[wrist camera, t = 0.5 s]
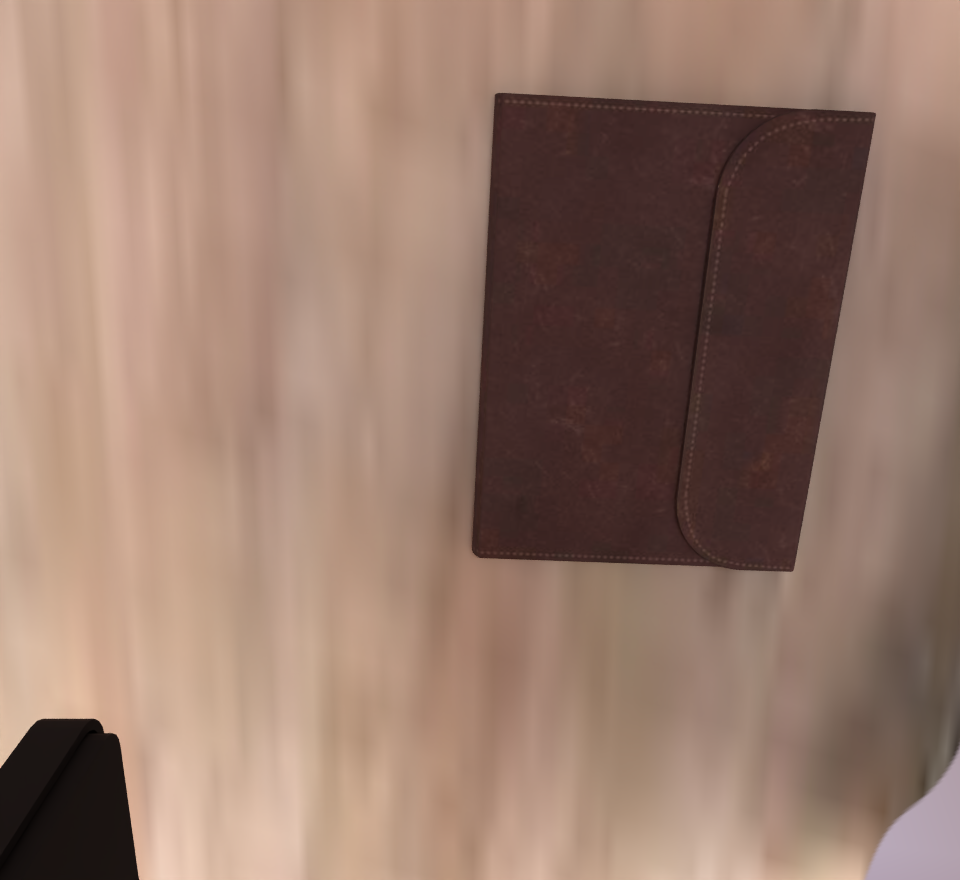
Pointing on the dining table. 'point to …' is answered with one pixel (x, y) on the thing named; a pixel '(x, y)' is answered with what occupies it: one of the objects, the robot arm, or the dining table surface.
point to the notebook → (659, 326)
